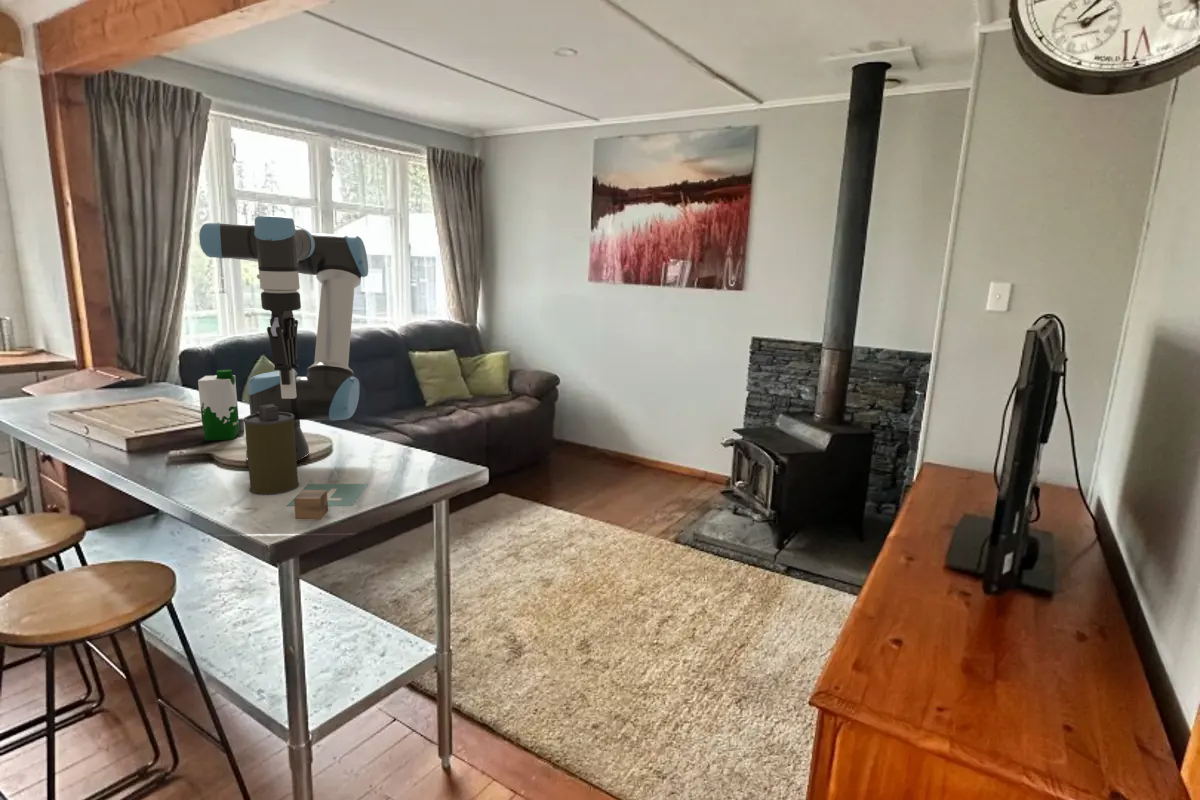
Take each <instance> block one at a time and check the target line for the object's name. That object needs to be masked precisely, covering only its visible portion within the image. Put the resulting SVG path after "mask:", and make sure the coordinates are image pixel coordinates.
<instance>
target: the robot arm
mask: <svg viewBox="0 0 1200 800" xmlns="http://www.w3.org/2000/svg"><path fill="white" fill-rule="evenodd" d="M198 235H199V236H198V237H199V238H198V239H199V246H200V248H201V250H202V252H203V254H205V256H207V257H209V258H215V259H216V258H218V259H231V260H232V259H233V260H234V259H235V260H245V261H250V262H257V266H258V267H257V268H258V274H257V275H256V278H257V279H258V280H259V285H260V286H259V287H260V288H259V289H261V290H262V291H261V293H260V301H261V302H260V303H261V308H262V310H264V311H270V312H271V317H270V319H269V323H270V325H269V326H267V328H266V331H267V335H268V337H269V341H270V347H271V353H272V359H273V365H274V367H273V369H274V371H268V372H265V373H260V374H256V375H254V376H252V377H251V378H250V379H249V380H248V386H247V387H248V392H247V395H248V403H249V404H248V405H249V414H250V415H252V414H255V412H259V406H262V405H269V404H274V405H275V406H277V407H278V412H288V413H292V414H293V415H294V433H295V447H296V460H299V459H301V458H302V457H304V456H305V455H307V454H308V453H309V454H310V448H309V444H308V442H307V439H306V437H305V435H304V433H303V430H302V428H301V421H331V422H334V421H341V420H349V419H350V418H351V417H353V416H354V413H355V412H356V410H357V408H358V403H359V397H360V381H359V379H358V378H357V377H355V376H354V371H353V369H351V368H350V366H349V362H350V361H349V360H350V346H351V335H352V334H351V333H352V324H353V323H352V322H353V321H352V320H353V312H354V311H353V310H354V309H353V308H354V299H355V298H354V297H355V288H357V287H358V286H361V285H360V284H361V278H365V277H368V274H369V264H368V263H369V262H368V261H369V260H368V255H367V250H366V246H365V244H364V241H363V239H362V238H361V237H360V236H358V235H355V234H354V235H352V234H346V233H343V234H338V233H337V234H335V233H334V234H333V233H317V232H316V233H311V232H309V230H307V229H305V228H304V227H300V226H298V225H295V221H294V219H293V218H292V217H290V216H279V215H257V216H255V218H254V224H241V223H225V222H224V223H221V222H206V223H204V224H203V225H201V227H200V230H199V233H198ZM299 274H303V275H312V276H316V278H315V279H317V280H318V282H319V283H320V284H321V287H320V288H321V289H320V299H319V307H318V310H319V311H318V319H317V330H316V342H315V351H314V353H315V354H314V362H313V364H311V365H310V366H308V367H307V370H306V375H305V376H298V372H297V371H296V370H295V369H298V368H299V364H297V363H298V326H299V320H298V319H295V317H294V313H293V311H298V310H300V309H301V307H302V306H301V305H302V304H301V303H302V302H301V294H300V293H299V291H298V290H300V286H301V285H300V277H299ZM245 454H246V455H245V456H246V459H247V458H248V455H247V449H246V450H245ZM299 461H300V460H299Z"/></svg>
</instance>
